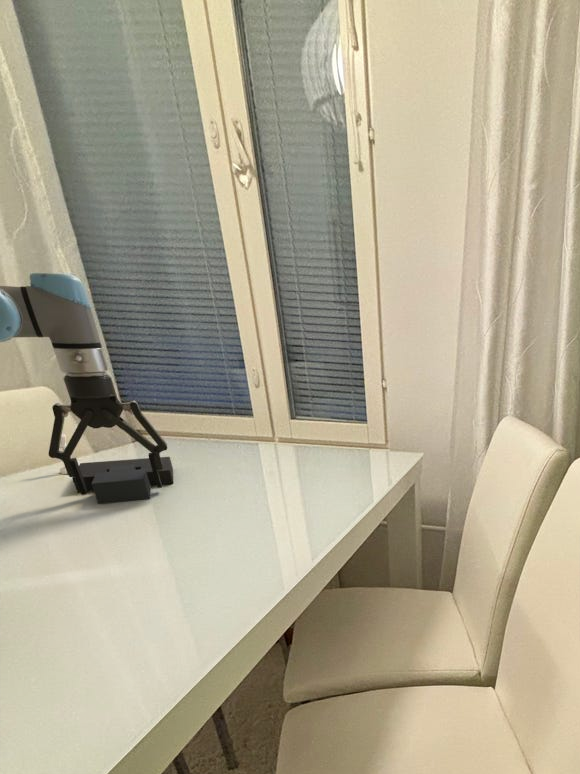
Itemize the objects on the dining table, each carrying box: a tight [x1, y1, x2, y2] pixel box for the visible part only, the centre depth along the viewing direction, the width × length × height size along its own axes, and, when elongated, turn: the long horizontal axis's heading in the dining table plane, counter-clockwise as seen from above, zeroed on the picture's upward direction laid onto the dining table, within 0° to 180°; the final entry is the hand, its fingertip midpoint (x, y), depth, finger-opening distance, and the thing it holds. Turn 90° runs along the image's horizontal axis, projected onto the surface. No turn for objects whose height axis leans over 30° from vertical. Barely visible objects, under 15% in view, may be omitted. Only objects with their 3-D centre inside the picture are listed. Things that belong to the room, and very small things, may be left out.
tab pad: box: [92, 465, 152, 505], centre depth 113 cm, size 9×14×4 cm, turn 26°
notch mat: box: [71, 456, 174, 493], centre depth 122 cm, size 18×14×3 cm
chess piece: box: [59, 433, 73, 475], centre depth 125 cm, size 5×5×10 cm
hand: (123, 489), depth 112 cm, fingers open, 13 cm apart
